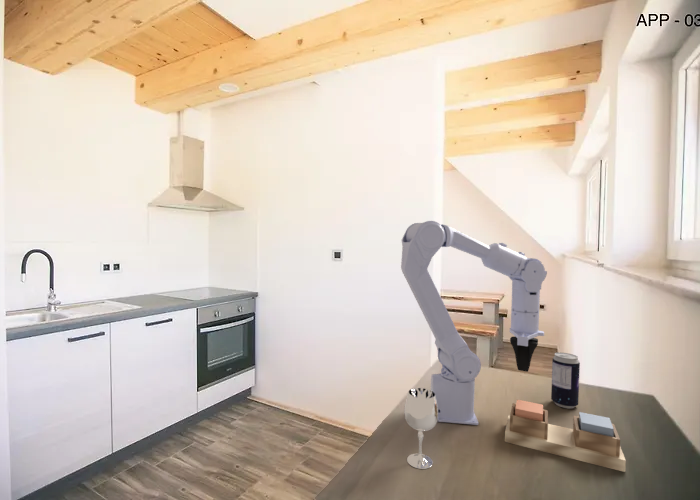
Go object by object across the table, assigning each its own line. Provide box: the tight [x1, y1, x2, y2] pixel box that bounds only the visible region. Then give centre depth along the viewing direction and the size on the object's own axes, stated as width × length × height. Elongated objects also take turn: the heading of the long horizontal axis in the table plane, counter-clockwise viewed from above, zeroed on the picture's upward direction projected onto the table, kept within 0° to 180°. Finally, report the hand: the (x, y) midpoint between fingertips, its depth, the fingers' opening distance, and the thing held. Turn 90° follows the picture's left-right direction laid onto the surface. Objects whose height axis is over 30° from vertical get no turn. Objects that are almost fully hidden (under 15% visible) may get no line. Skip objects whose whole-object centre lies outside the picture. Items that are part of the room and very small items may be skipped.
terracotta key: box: [515, 399, 544, 422], centre depth 73 cm, size 5×5×3 cm
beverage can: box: [550, 352, 581, 410], centre depth 89 cm, size 6×6×12 cm
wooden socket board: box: [504, 402, 627, 473], centre depth 71 cm, size 19×8×5 cm, turn 62°
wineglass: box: [404, 387, 438, 470], centre depth 64 cm, size 6×6×12 cm
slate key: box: [578, 411, 614, 437], centre depth 68 cm, size 5×5×3 cm
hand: (523, 370), depth 84 cm, fingers closed
